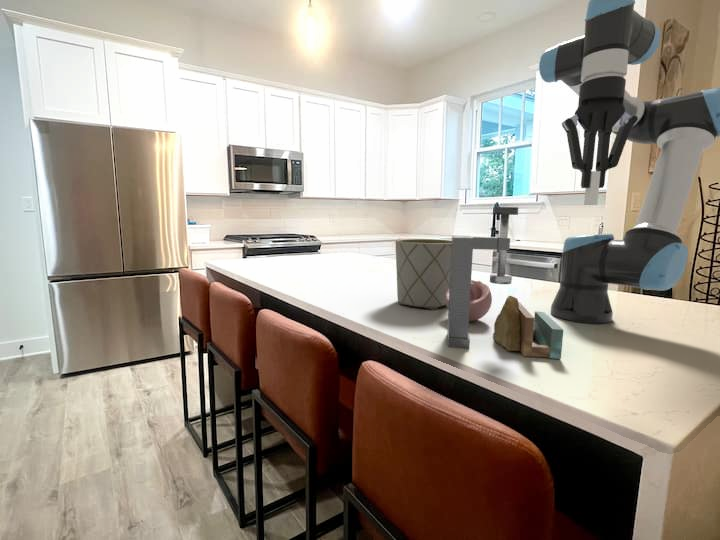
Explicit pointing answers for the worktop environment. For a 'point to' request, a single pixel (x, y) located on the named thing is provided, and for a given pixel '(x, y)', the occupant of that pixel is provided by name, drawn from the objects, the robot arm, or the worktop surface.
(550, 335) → the frame
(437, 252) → the planter
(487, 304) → the mortar and pestle
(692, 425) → the worktop surface
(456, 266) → the press frame
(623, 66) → the robot arm
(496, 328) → the rock
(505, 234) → the ram
